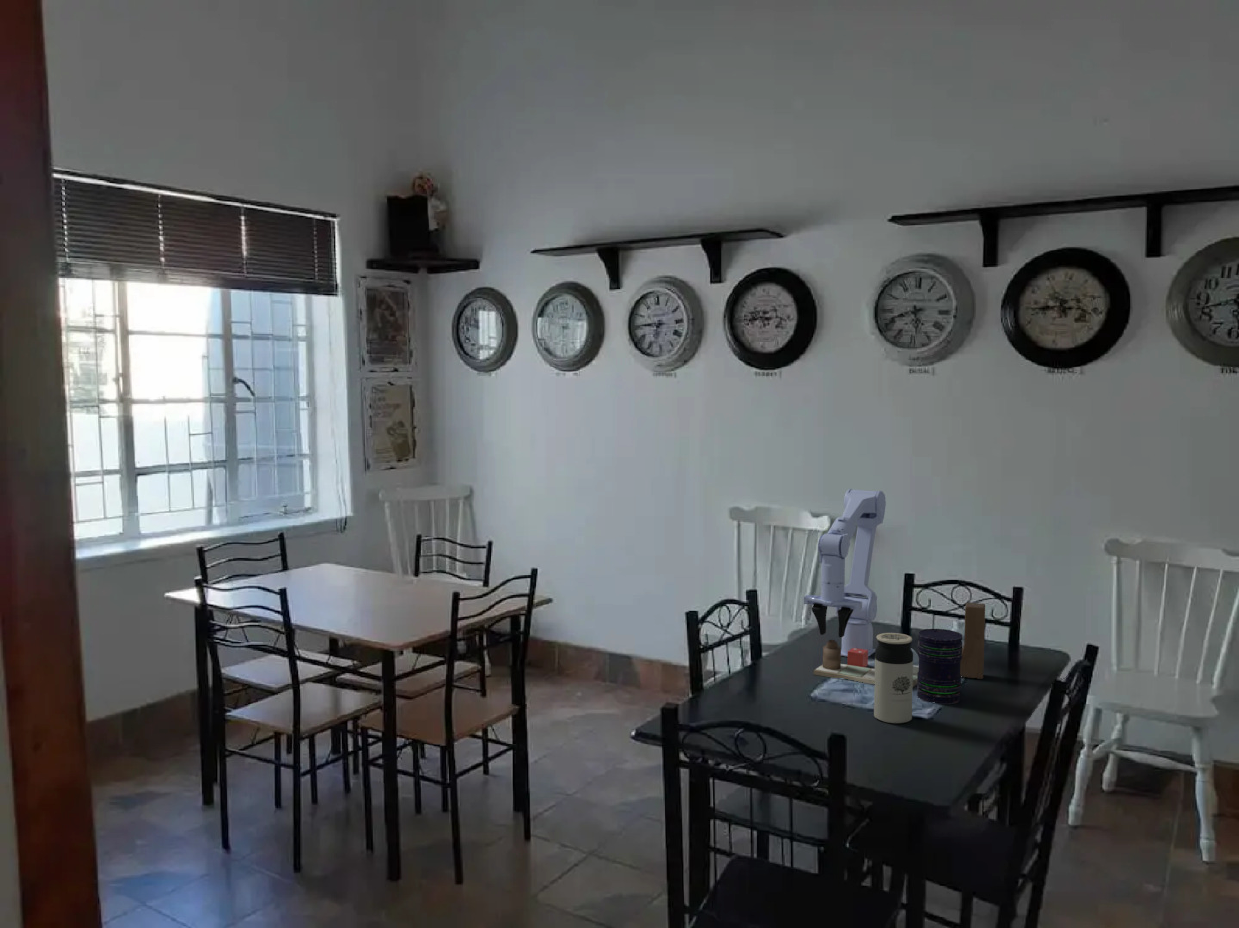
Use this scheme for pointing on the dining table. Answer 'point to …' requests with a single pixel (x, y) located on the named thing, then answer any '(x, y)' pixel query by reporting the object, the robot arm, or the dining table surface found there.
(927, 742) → the dining table surface
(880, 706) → the travel mug
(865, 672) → the track board
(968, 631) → the wooden block
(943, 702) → the storage jar
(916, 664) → the dome
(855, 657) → the red die
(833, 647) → the pawn
